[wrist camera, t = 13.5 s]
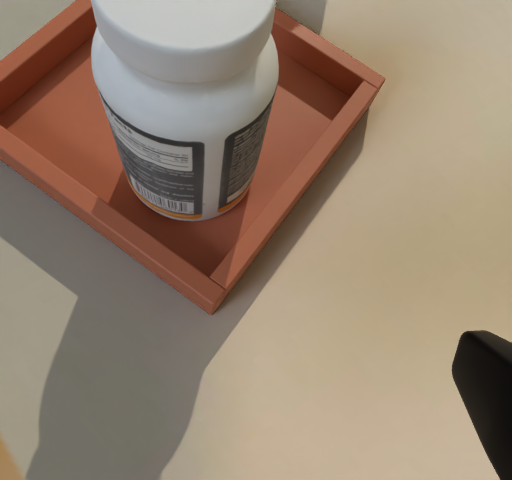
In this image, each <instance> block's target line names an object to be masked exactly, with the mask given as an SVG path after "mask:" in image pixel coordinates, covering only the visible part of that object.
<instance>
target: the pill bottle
mask: <svg viewBox="0 0 512 480" xmlns="http://www.w3.org/2000/svg"><path fill="white" fill-rule="evenodd" d="M276 1H277V0H91V4H92V8H93V12H94V17H95V21H96V24H97V28H96V31H95V34H94V37H93V42H92V48H91V64H92V73H93V78H94V81H95V84H96V86H97V89H98V92H99V95H100V98H101V100H102V103H103V106H104V109H105V113H106V116H107V118H108V121H109V124H110V127H111V130H112V134H113V136H114V139H115V143H116V146H117V149H118V153H119V156H120V158H121V162H122V165H123V168H124V171H125V174H126V176H127V179H128V182H129V184H130V186H131V188H132V189H133V191H134V192H135V194H136V195H137V197H138V198H139V199H140V200H141V201H142V202H143V203H144V204H145V205H146V206H148V207H149V208H151V209H152V210H154V211H155V212H157V213H159V214H161V215H163V216H166V217H169V218H172V219H176V220H183V221H203V220H207V219H211V218H214V217H217V216H219V215H221V214H223V213H225V212H227V211H229V210H230V209H232V208H233V207H234V206H235V205H236V204H237V203H239V202H240V201H241V199H242V198H243V197H244V196H245V194H246V193H247V191H248V189H249V187H250V185H251V183H252V180H253V177H254V174H255V171H256V167H257V163H258V159H259V156H260V152H261V149H262V145H263V140H264V136H265V131H266V128H267V123H268V119H269V115H270V112H271V108H272V104H273V100H274V96H275V92H276V88H277V84H278V75H279V64H278V54H277V49H276V45H275V42H274V39H273V37H272V35H271V30H272V26H273V20H274V13H275V7H276Z"/></svg>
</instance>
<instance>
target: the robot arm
mask: <svg viewBox="0 0 512 480" xmlns="http://www.w3.org/2000/svg"><path fill="white" fill-rule="evenodd" d="M452 375H453V379H454V381H455V384H456V386H457V388H458V391H459V393H460V395H461V398H462V400H463V402H464V404H465V407H466V409H467V411H468V414H469V416H470V418H471V420H472V423H473V425H474V427H475V430H476V432H477V434H478V437H479V439H480V441H481V443H482V445H483V447H484V450H485V452H486V454H487V456H488V458H489V460H490V462H491V463H492V465H493V467H494V469H495V471H496V473H497V475H498V476H499V478H500V480H512V343H511V342H509V341H507V340H505V339H503V338H501V337H499V336H497V335H495V334H493V333H491V332H488V331H484V330H481V331H466V332H464V333H463V334H462V335H461V337H460V340H459V344H458V347H457V350H456V354H455V357H454V361H453V364H452Z"/></svg>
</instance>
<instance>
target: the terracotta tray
mask: <svg viewBox="0 0 512 480" xmlns="http://www.w3.org/2000/svg"><path fill="white" fill-rule="evenodd" d="M96 28H97V24H96V21H95V17H94V12H93V8H92V4H91V0H76V1H75V2H74V3H72V4H71V5H70V6H69V7H67V8H66V9H65V10H64V11H62V12H61V13H60V14H59V15H57V16H56V17H55V18H54V19H52V20H51V21H50V22H49V23H47V24H46V25H45V26H44V27H42V28H41V29H40V30H39V31H37V32H36V33H35V34H34V35H32V36H31V37H30V38H29V39H27V40H26V41H25V42H24V43H22V44H21V45H20V46H19V47H17V48H16V49H15V50H14V51H12V52H11V53H10V54H9V55H7V56H6V57H5V58H4V59H2V60H1V61H0V160H2V161H3V162H4V163H6V164H7V165H9V166H10V167H11V168H13V169H14V170H15V171H17V172H18V173H19V174H21V175H22V176H23V177H25V178H26V179H27V180H29V181H30V182H32V183H33V184H34V185H36V186H37V187H38V188H40V189H41V190H42V191H44V192H45V193H46V194H48V195H49V196H50V197H52V198H53V199H54V200H56V201H57V202H59V203H60V204H61V205H63V206H64V207H65V208H67V209H68V210H69V211H71V212H72V213H73V214H75V215H76V216H77V217H79V218H80V219H82V220H83V221H84V222H86V223H87V224H88V225H90V226H91V227H92V228H94V229H95V230H96V231H98V232H99V233H100V234H102V235H103V236H105V237H106V238H107V239H109V240H110V241H111V242H113V243H114V244H115V245H117V246H118V247H119V248H121V249H122V250H123V251H125V252H126V253H127V254H129V255H130V256H132V257H133V258H134V259H136V260H137V261H138V262H140V263H141V264H142V265H144V266H145V267H146V268H148V269H149V270H150V271H152V272H153V273H155V274H156V275H157V276H159V277H160V278H161V279H163V280H164V281H165V282H167V283H168V284H169V285H171V286H172V287H173V288H175V289H176V290H177V291H179V292H180V293H182V294H183V295H184V296H186V297H187V298H188V299H190V300H191V301H192V302H194V303H195V304H196V305H198V306H199V307H200V308H202V309H203V310H205V311H206V312H207V313H209V314H210V315H213V313H214V312H215V311H216V309H217V308H218V307H219V306H220V304H221V303H222V302H223V300H224V299H225V298H226V296H227V295H228V294H229V292H230V291H231V290H232V288H233V287H234V286H235V284H236V283H237V282H238V280H239V279H240V278H241V276H242V275H243V274H244V272H245V271H246V270H247V268H248V267H249V266H250V264H251V263H252V262H253V260H254V259H255V258H256V256H257V255H258V254H259V252H260V251H261V250H262V248H263V247H264V246H265V244H266V243H267V242H268V241H269V239H270V238H271V237H272V235H273V234H274V233H275V231H276V230H277V229H278V227H279V226H280V225H281V223H282V222H283V221H284V219H285V218H286V217H287V215H288V214H289V213H290V211H291V210H292V209H293V207H294V206H295V205H296V203H297V202H298V201H299V199H300V198H301V197H302V195H303V194H304V193H305V191H306V190H307V189H308V187H309V186H310V185H311V183H312V182H313V181H314V179H315V178H316V177H317V176H318V174H319V173H320V172H321V170H322V169H323V168H324V166H325V165H326V164H327V162H328V161H329V160H330V158H331V157H332V156H333V154H334V153H335V152H336V150H337V149H338V148H339V146H340V145H341V144H342V142H343V141H344V140H345V138H346V137H347V136H348V134H349V133H350V132H351V130H352V129H353V128H354V126H355V125H356V124H357V122H358V121H359V120H360V118H361V117H362V116H363V115H364V113H365V112H366V111H367V109H368V108H369V107H370V105H371V103H372V102H373V100H374V98H375V97H376V95H377V93H378V92H379V90H380V88H381V86H382V85H383V83H384V81H385V78H384V77H382V76H381V75H379V74H378V73H376V72H375V71H373V70H371V69H370V68H368V67H367V66H365V65H364V64H362V63H361V62H359V61H358V60H356V59H354V58H353V57H351V56H350V55H348V54H347V53H345V52H344V51H342V50H340V49H339V48H337V47H336V46H334V45H333V44H331V43H330V42H328V41H327V40H325V39H323V38H322V37H320V36H319V35H317V34H316V33H314V32H313V31H311V30H309V29H308V28H306V27H305V26H303V25H302V24H300V23H299V22H297V21H296V20H294V19H292V18H291V17H289V16H288V15H286V14H285V13H283V12H282V11H280V10H279V9H277V8H275V13H274V20H273V26H272V30H271V35H272V37H273V39H274V42H275V45H276V49H277V54H278V64H279V75H278V84H277V88H276V92H275V96H274V100H273V104H272V108H271V112H270V115H269V119H268V123H267V128H266V131H265V136H264V140H263V145H262V149H261V152H260V156H259V159H258V163H257V167H256V171H255V174H254V177H253V180H252V183H251V185H250V187H249V189H248V191H247V193H246V194H245V196H244V197H243V198H242V199H241V201H240V202H239V203H237V204H236V205H235V206H234V207H233V208H232V209H230V210H229V211H227V212H225V213H223V214H221V215H219V216H217V217H214V218H211V219H207V220H203V221H183V220H176V219H172V218H169V217H166V216H163V215H161V214H159V213H157V212H155V211H154V210H152V209H151V208H149V207H148V206H146V205H145V204H144V203H143V202H142V201H141V200H140V199H139V198H138V197H137V195H136V194H135V192H134V191H133V189H132V188H131V186H130V184H129V182H128V179H127V176H126V174H125V171H124V168H123V165H122V162H121V158H120V156H119V153H118V149H117V146H116V143H115V139H114V136H113V134H112V130H111V127H110V124H109V121H108V118H107V116H106V113H105V109H104V106H103V103H102V100H101V98H100V95H99V92H98V89H97V86H96V84H95V81H94V78H93V73H92V64H91V48H92V42H93V37H94V34H95V31H96Z"/></svg>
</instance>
